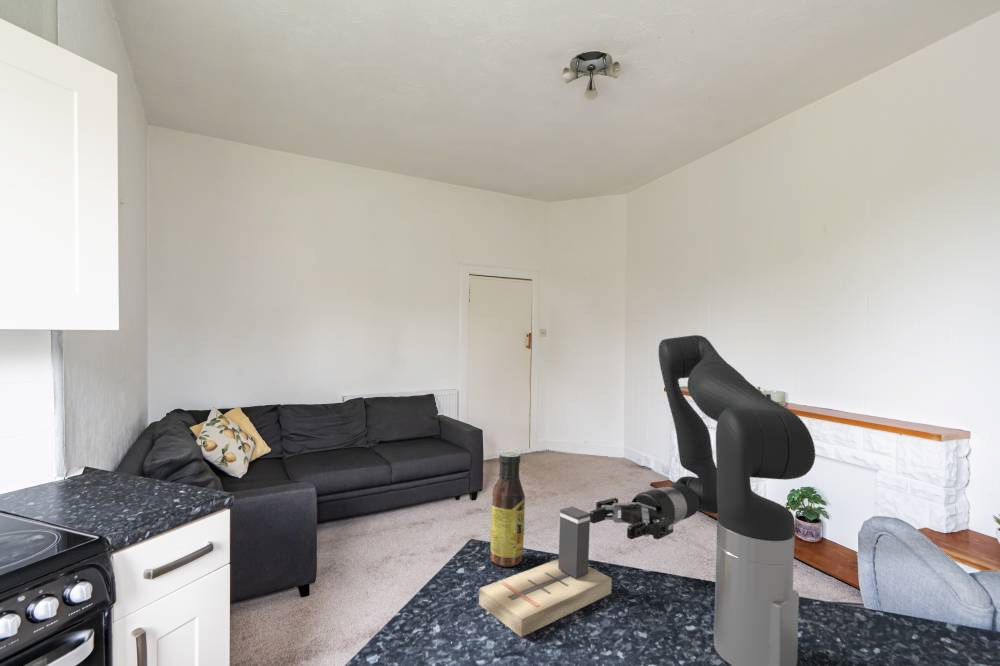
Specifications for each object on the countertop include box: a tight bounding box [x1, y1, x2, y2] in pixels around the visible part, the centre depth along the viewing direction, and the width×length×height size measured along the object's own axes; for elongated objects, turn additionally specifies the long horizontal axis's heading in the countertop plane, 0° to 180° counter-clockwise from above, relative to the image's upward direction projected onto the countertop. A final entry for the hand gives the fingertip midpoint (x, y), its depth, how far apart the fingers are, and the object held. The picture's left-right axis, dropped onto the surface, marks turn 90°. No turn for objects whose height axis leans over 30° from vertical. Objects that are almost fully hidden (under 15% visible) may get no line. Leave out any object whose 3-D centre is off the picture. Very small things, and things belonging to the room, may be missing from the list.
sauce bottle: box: [489, 451, 526, 568], centre depth 88 cm, size 7×6×20 cm
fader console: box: [478, 558, 613, 638], centre depth 75 cm, size 10×20×3 cm, turn 129°
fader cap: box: [558, 506, 591, 578], centre depth 79 cm, size 4×3×10 cm
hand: (609, 525), depth 85 cm, fingers open, 8 cm apart
